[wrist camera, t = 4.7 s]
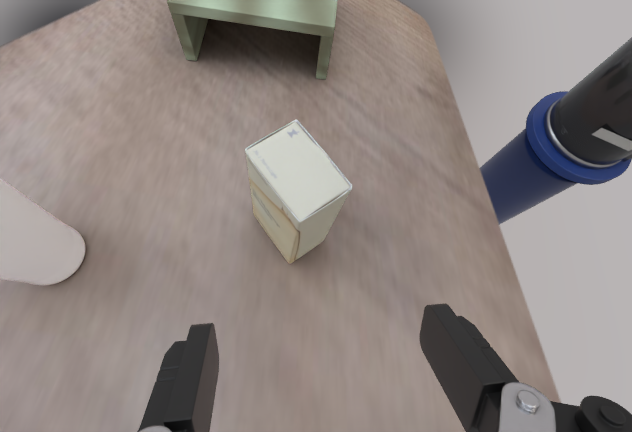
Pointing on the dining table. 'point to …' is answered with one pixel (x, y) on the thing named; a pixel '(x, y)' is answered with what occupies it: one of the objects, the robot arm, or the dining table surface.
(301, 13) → the shelf
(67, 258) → the white tumbler
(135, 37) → the dining table surface
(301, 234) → the cosmetic box
